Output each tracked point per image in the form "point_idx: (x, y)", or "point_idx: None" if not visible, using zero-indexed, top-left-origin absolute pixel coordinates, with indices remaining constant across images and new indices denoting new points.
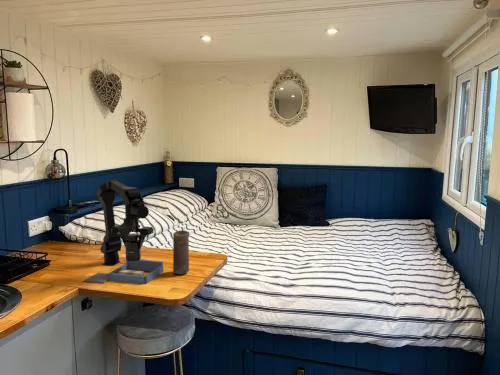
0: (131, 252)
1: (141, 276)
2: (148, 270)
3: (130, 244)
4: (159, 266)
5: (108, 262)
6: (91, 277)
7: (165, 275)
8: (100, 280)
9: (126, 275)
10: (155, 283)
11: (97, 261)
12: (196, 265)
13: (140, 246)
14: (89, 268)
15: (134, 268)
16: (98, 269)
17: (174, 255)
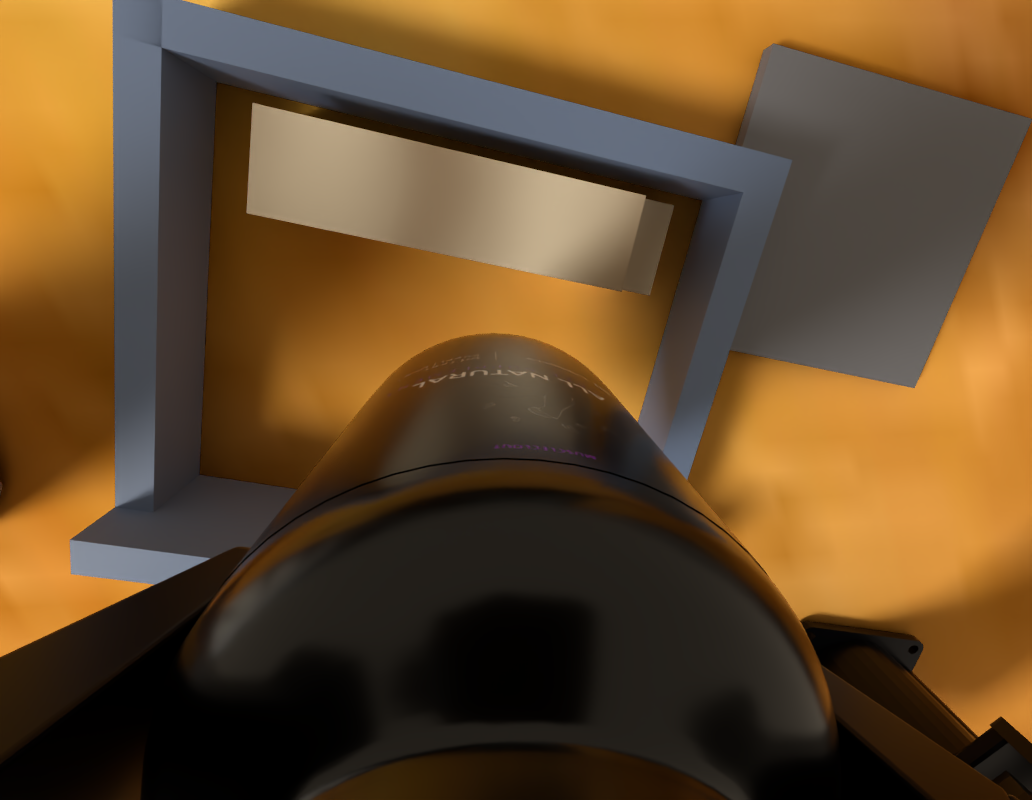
0: (470, 372)
1: (215, 31)
2: None
3: (499, 475)
4: (149, 495)
5: (871, 654)
6: (961, 218)
7: (72, 368)
8: (831, 108)
9: (484, 82)
10: (54, 54)
11: (976, 713)
12: None
13: (170, 596)
14: (1022, 533)
15: None
16: (926, 512)
17: None
